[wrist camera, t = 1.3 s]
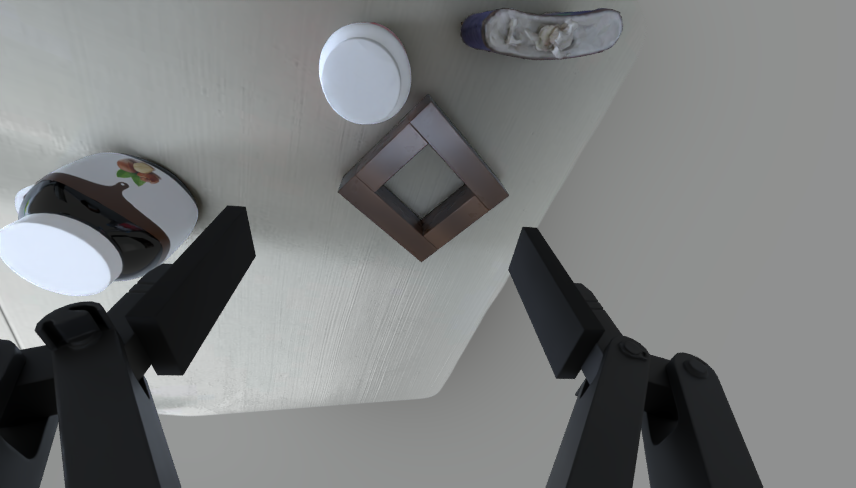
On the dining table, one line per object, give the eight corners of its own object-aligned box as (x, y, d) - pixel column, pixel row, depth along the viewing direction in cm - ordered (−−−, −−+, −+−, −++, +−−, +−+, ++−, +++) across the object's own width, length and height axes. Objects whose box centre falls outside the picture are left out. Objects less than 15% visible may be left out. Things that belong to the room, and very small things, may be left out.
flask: (569, 11, 27) (649, 7, 19) (560, 51, 29) (631, 65, 20) (459, 11, 27) (489, 6, 18) (458, 52, 28) (484, 67, 20)
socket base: (428, 93, 30) (431, 101, 27) (500, 181, 36) (509, 195, 33) (342, 177, 34) (337, 192, 31) (419, 245, 40) (421, 262, 37)
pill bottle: (339, 99, 30) (313, 133, 21) (333, 18, 26) (300, 16, 17) (407, 104, 31) (410, 139, 21) (410, 25, 27) (416, 27, 18)
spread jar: (220, 202, 35) (152, 271, 25) (168, 261, 38) (91, 341, 29) (91, 114, 29) (-60, 160, 19) (45, 193, 33) (-102, 265, 23)
